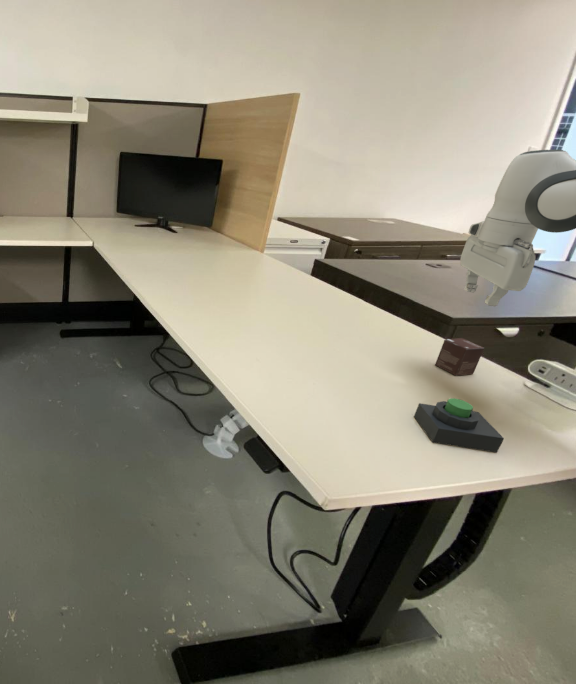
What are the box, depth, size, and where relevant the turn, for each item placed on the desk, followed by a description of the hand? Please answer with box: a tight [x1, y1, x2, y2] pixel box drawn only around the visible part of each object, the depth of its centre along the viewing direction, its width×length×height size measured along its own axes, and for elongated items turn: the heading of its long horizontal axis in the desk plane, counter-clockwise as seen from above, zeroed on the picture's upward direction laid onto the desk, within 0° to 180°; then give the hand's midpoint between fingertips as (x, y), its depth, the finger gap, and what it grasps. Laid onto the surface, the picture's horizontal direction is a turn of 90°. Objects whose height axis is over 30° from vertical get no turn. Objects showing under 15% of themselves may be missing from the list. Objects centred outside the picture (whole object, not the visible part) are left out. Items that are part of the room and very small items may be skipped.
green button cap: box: [444, 397, 474, 418], centre depth 88 cm, size 4×4×2 cm
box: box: [435, 337, 485, 376], centre depth 116 cm, size 6×6×7 cm
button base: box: [413, 400, 505, 453], centre depth 89 cm, size 11×9×5 cm
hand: (479, 298), depth 101 cm, fingers open, 8 cm apart
